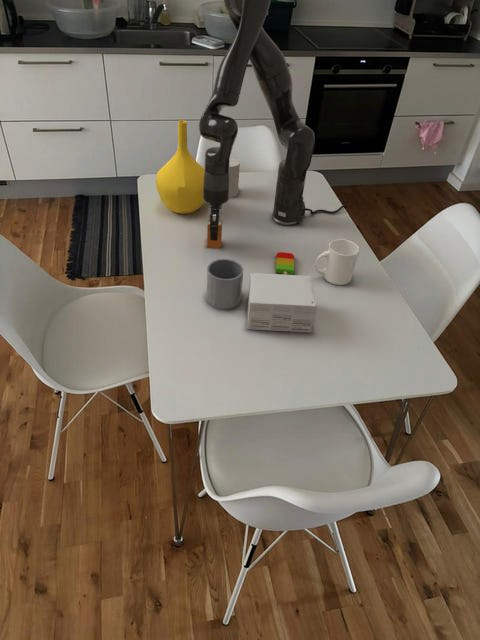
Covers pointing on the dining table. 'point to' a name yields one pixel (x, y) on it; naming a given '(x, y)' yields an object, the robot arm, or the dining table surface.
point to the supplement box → (281, 302)
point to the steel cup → (224, 283)
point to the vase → (181, 178)
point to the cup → (233, 176)
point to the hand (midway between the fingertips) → (214, 233)
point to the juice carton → (218, 243)
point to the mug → (339, 261)
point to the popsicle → (285, 263)
